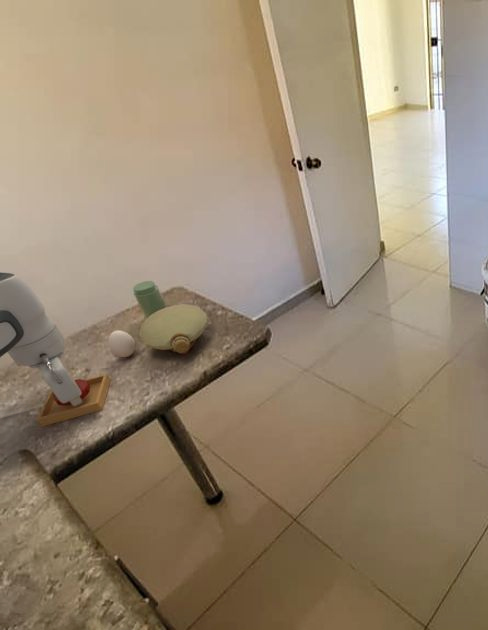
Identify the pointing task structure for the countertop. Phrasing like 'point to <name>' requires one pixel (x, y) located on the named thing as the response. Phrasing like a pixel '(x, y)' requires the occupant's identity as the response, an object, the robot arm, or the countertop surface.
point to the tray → (89, 404)
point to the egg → (121, 343)
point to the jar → (149, 297)
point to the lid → (82, 386)
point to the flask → (174, 328)
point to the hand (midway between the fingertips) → (73, 394)
